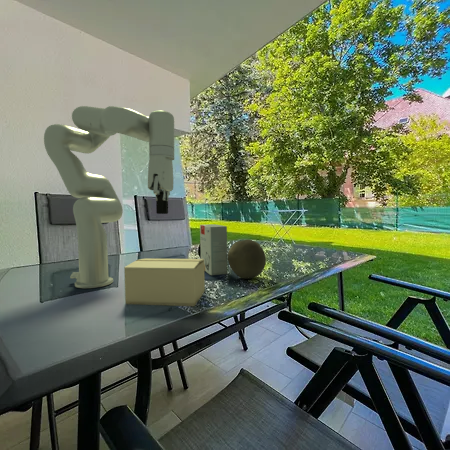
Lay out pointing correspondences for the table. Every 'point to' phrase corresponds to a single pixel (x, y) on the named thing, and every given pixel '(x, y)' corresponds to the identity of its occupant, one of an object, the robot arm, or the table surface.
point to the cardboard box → (164, 286)
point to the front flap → (163, 265)
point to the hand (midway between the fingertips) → (162, 213)
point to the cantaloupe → (246, 259)
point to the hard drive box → (214, 248)
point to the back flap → (172, 260)
